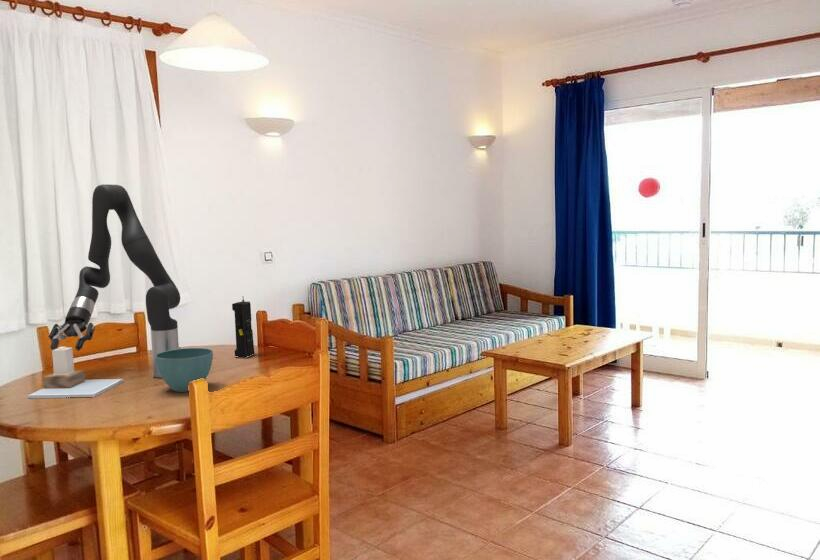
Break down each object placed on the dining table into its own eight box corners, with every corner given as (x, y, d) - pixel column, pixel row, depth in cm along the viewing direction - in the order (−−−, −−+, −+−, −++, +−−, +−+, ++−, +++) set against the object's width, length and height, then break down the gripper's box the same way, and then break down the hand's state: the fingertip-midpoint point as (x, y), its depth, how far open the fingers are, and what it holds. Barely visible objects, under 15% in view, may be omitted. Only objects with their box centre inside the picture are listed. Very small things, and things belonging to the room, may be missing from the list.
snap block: (74, 371, 222) (72, 345, 221) (66, 374, 217) (64, 348, 216) (61, 371, 222) (59, 346, 221) (53, 374, 217) (51, 348, 217)
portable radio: (247, 358, 260) (244, 298, 257) (233, 358, 261) (230, 298, 258) (255, 354, 267) (252, 295, 265) (242, 354, 268) (239, 295, 266)
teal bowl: (184, 380, 226) (182, 346, 225) (226, 384, 219) (224, 349, 218) (145, 393, 210) (143, 356, 208) (189, 398, 203) (186, 360, 201)
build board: (123, 381, 226) (122, 367, 226) (93, 397, 206) (92, 382, 206) (62, 382, 227) (61, 368, 227) (27, 398, 207) (26, 383, 207)
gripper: (56, 306, 228) (39, 344, 217) (95, 305, 227) (80, 342, 217) (65, 318, 234) (50, 356, 223) (104, 317, 233) (90, 355, 223)
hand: (65, 349), depth 220 cm, fingers open, 8 cm apart
